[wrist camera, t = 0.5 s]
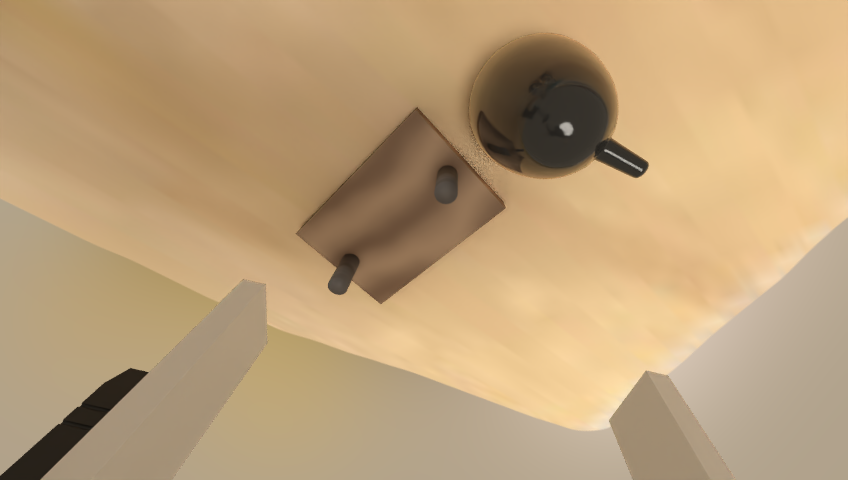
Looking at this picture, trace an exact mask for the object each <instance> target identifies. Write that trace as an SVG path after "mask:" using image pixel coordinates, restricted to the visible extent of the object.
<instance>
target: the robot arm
mask: <svg viewBox="0 0 848 480" xmlns="http://www.w3.org/2000/svg"><path fill="white" fill-rule="evenodd" d="M266 344H267V315H266V284H262V283H257V282H253V281H249V280H244V279H243V280H242V281H241V282H240V283H239V284H238V285H237V286H236V287H235V288H234V289H233V290H232V291H231V292H230V293H229V294H228V295H227V296H226V297H225V298H224V299H223V300H222V301H221V302H220V303H219V304H218V305H217V306H216V307H215V308H214V309H213V310H212V311H211V312H210V313H209V314H208V315H207V316H206V317H205V318H204V319H203V320H202V321H201V322H200V323H199V324H198V325H197V326H196V327H195V328H193V330H191V331H190V332H189V334H187V336H185V337H184V338H183V339H182V340H181V341H180V342H179V343H178V344H177V345H176V346H175V348H173V349H172V350H171V351H170V352H169V353H168V354H167V355H166V356H165V357H164V358H163V359H162V360H161V361H160V362H159V363H158V364H157V365H156V366H155V367H154V368H153V369H152V370H151V371H150V372H145V371H140V370H136V369H132V368H130V369H128V370H127V371H125V372H123V373H121V374H119V375H118V376H116V377H114V378H112V379H111V380H109V381H107V382H105V383H104V384H103V385H101V386H100V387H99V388H98V389H97V390H96V391H95V392H94V393H93V394H91V395H90V396H89V397H88V398H87V399H86V400H85V401H84V402H83V403H82V405H81V406H80V407H77V408H76V409H75V410H74V411H72V412H71V413H70V414H69V415H68V416H67V417H66V418H65V419H64V420H63V422H62V423H61V424H58V425H57V426H56V427H55V428H54V429H52V430H51V431H50V432H49V433H48V434H47V435H46V436H44V437H43V438H42V439H41V440H40V441H39V442H38V443H37V444H36V445H34V446H33V447H32V448H31V449H30V450H29V451H28V452H27V453H25V454H24V455H23V456H22V457H21V458H20V459H19V460H18V461H16V462H15V463H14V464H13V465H12V466H11V467H10V468H9V469H8V470H6V471H5V472H4V473H3V474H2V475H1V476H0V480H172V479H173V478H174V476H175V475H176V473H177V472H178V470H179V469H180V467H181V466H182V464H183V463H184V462H185V460H186V459H187V458H188V456H189V454H190V453H191V452H192V450H193V449H194V447H195V446H196V445H197V443H198V442H199V440H200V439H201V437H202V436H203V435H204V433H205V432H206V430H207V429H208V427H209V426H210V425H211V423H212V422H213V420H214V419H215V417H216V415H217V414H218V413H219V412H220V410H221V409H222V407H223V406H224V404H225V403H226V401H227V400H228V399H229V397H230V396H231V394H232V393H233V391H234V390H235V389H236V387H237V386H238V384H239V383H240V382H241V380H242V379H243V377H244V375H245V374H246V373H247V372H248V370H249V369H250V367H251V366H252V364H253V363H254V361H255V360H256V359H257V357H258V356H259V354H260V353H261V351H262V350H263V349H264V347H265V346H266ZM609 422H610V424H611V427H612V429H613V432H614V434H615V437H616V439H617V442H618V444H619V446H620V449H621V451H622V454H623V456H624V459H625V461H626V464H627V466H628V469H629V471H630V474H631V476H632V478H633V480H736V479H735V477H734V476H733V474H732V473H731V471H730V470H729V468H728V467H727V465H726V464H725V462H724V461H723V459H722V457H721V456H720V454H719V453H718V451H717V450H716V448H715V447H714V445H713V444H712V442H711V441H710V439H709V438H708V436H707V434H706V433H705V431H704V430H703V428H702V427H701V425H700V424H699V422H698V421H697V419H696V418H695V416H694V415H693V413H692V412H691V410H690V408H689V407H688V405H687V404H686V402H685V401H684V399H683V398H682V396H681V395H680V393H679V392H678V390H677V389H676V387H675V385H674V384H673V382H672V381H671V379H670V378H669V376H667V375H663V374H658V373H654V372H650V371H645V373H644V374H643V375H642V377H641V378H640V379H639V381H638V382H637V384H636V385H635V386H634V388H633V389H632V390H631V392H630V393H629V394H628V396H627V397H626V398H625V400H624V401H623V402H622V404H621V405H620V406H619V408H618V409H617V410H616V412H615V413H614V414H613V416H612V417H611V418H610V420H609Z"/></svg>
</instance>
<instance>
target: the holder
mask: <svg viewBox="0 0 848 480" xmlns="http://www.w3.org/2000/svg"><path fill="white" fill-rule="evenodd" d="M504 209H505V205H504V202H503V201H502V200H501V199H500V198H499V197H498V196H497V195H496V194H495V192H494V191H493V190H492V189H491V188H490V187H489V186H488V185H487V184H486V183H485V181H484V180H483V179H482V178H481V177H480V176H479V175H478V174H477V173H476V172H475V170H474V169H473V168H472V167H471V166H470V165H469V164H468V163H467V162H466V161H465V159H464V158H463V157H462V156H461V155H460V154H459V153H458V152H457V151H456V150H455V148H454V147H453V146H452V145H451V144H450V143H449V142H448V141H447V140H446V139H445V137H444V136H443V135H442V134H441V133H440V132H439V131H438V130H437V129H436V128H435V126H434V125H433V124H432V123H431V122H430V121H429V120H428V119H427V118H426V116H425V115H424V114H423V113H422V112H421V111H420V110H419V109H418V108H416V109H415V110H414V111H413V112H412V113H411V114H410V115H409V116H408V117H407V118H406V119H405V120H404V122H403V123H402V124H401V125H400V126H399V127H398V128H397V129H396V130H395V131H394V132H393V133H392V134H391V135H390V136H389V137H388V138H387V139H386V140H385V141H384V142H383V143H382V144H381V145H380V147H379V148H378V149H377V150H376V151H375V152H374V153H373V154H372V155H371V156H370V157H369V158H368V159H367V160H366V161H365V162H364V163H363V164H362V165H361V166H360V167H359V168H358V169H357V170H356V172H355V173H354V174H353V175H352V176H351V177H350V178H349V179H348V180H347V181H346V182H345V183H344V184H343V185H342V186H341V187H340V188H339V189H338V190H337V191H336V192H335V193H334V194H333V195H332V196H331V198H330V199H329V200H328V201H327V202H326V203H325V204H324V205H323V206H322V207H321V208H320V209H319V210H318V211H317V212H316V213H315V214H314V215H313V216H312V217H311V218H310V219H309V220H308V221H307V223H306V224H305V225H304V226H303V227H302V228H301V229H300V230H299V231H298V232H297V233H296V234H297V235H298V236H299V237H300V238H302V239H303V240H304V241H305V242H306V243H308V244H309V245H310V246H311V247H312V248H314V249H315V250H316V251H317V252H319V253H320V254H321V255H322V256H323V257H325V258H326V259H327V260H328V261H329V262H331V263H332V264H333V265H334V266H335V267H337V269H336V270H335V272H334V274H333V276H332V277H331V279H330V281H329V283H328V288H329V290H330V291H331V292H332V293H334V294H337V295H341V294H344V293H345V292H346V291H347V289H348V287H349V285H350V283H351V281H353V282H355V283H356V284H357V285H358V286H359V287H361V288H362V289H363V290H364V291H366V292H367V293H368V294H369V295H370V296H372V297H373V298H374V299H375V300H376V301H378V302H379V303H380V304H382V303H383V302H384V301H386V300H387V299H388V298H390V297H391V296H392V295H393V294H395V293H396V292H397V291H399V290H400V289H401V288H403V287H404V286H405V285H406V284H408V283H409V282H410V281H412V280H413V279H414V278H415V277H417V276H418V275H419V274H421V273H422V272H423V271H425V270H426V269H427V268H428V267H430V266H431V265H432V264H434V263H435V262H436V261H438V260H439V259H440V258H441V257H443V256H444V255H445V254H447V253H448V252H449V251H451V250H452V249H453V248H454V247H456V246H457V245H458V244H460V243H461V242H462V241H464V240H465V239H466V238H467V237H469V236H470V235H471V234H473V233H474V232H475V231H477V230H478V229H479V228H480V227H482V226H483V225H484V224H486V223H487V222H488V221H490V220H491V219H492V218H493V217H495V216H496V215H497V214H499V213H500V212H501V211H503V210H504Z"/></svg>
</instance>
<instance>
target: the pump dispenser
mask: <svg viewBox="0 0 848 480" xmlns="http://www.w3.org/2000/svg"><path fill="white" fill-rule="evenodd" d="M469 119H470V125H471V129H472V132H473V135H474V137H475V139H476V141H477V143H478V145H479V146H480V148H481V149H482V150H483V151H484V153H485V154H486V155H487V156H488V157H489V158H490V159H491V160H493V161H494V162H495V163H497V164H498V165H499V166H501V167H503V168H504V169H506V170H508V171H510V172H513V173H515V174H518V175H521V176H525V177H530V178H536V179H554V178H560V177H564V176H568V175H571V174H573V173H576V172H578V171H580V170H582V169H583V168H585V167H587V166H588V165H589V164H590V163H592V162H593V161H594V160H597V161H599V162H601V163H604V164H606V165H608V166H610V167H612V168H614V169H616V170H619V171H621V172H623V173H625V174H627V175H629V176H631V177H634V178H638V177H641V176H642V175H643V174H644V173H645V172H646V171H647V169H648V167H649V163H648V162H647V161H646V160H644V159H643V158H641V157H640V156H638V155H637V154H635V153H634V152H632V151H630V150H629V149H627V148H626V147H624V146H623V145H621V144H620V143H618V142H617V141H615V140H614V139H612V135H613V133H614V131H615V128H616V124H617V119H618V96H617V91H616V88H615V85H614V82H613V80H612V78H611V76H610V74H609V72H608V70H607V68H606V67H605V65H604V64H603V63H602V61H601V60H600V59H599V58H598V57H597V56H596V55H595V54H594V53H593V52H592V51H591V50H590V49H588V48H587V47H586V46H584V45H583V44H581V43H579V42H577V41H576V40H573V39H571V38H569V37H566V36H563V35H559V34H554V33H536V34H530V35H526V36H523V37H520V38H518V39H515V40H513V41H511V42H509V43H508V44H506V45H505V46H503V47H502V48H500V49H499V50H498V51H497V52H495V53H494V54H493V55H492V56H491V57H490V58H489V60H488V61H487V62H486V63H485V65H484V66H483V67H482V69H481V70H480V72H479V74H478V76H477V78H476V80H475V82H474V85H473V88H472V91H471V96H470V102H469Z"/></svg>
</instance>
